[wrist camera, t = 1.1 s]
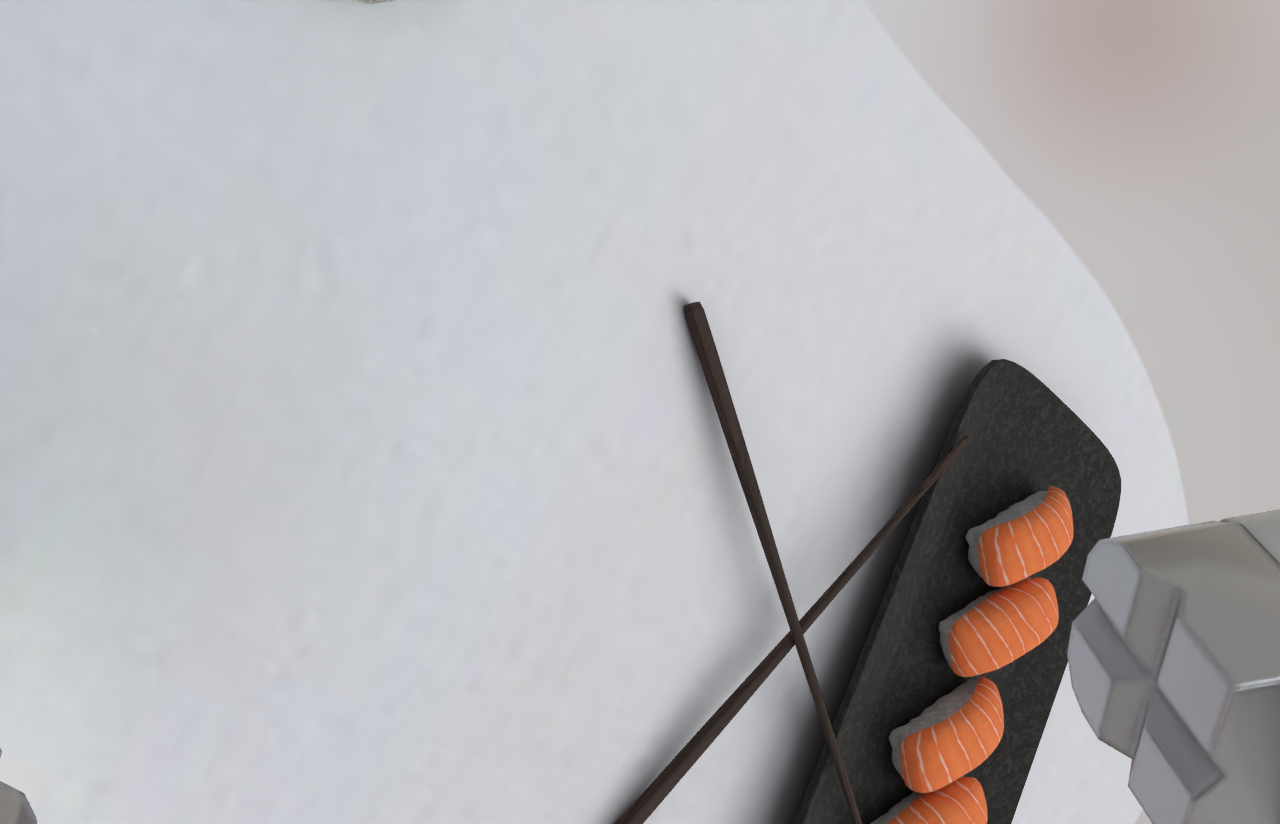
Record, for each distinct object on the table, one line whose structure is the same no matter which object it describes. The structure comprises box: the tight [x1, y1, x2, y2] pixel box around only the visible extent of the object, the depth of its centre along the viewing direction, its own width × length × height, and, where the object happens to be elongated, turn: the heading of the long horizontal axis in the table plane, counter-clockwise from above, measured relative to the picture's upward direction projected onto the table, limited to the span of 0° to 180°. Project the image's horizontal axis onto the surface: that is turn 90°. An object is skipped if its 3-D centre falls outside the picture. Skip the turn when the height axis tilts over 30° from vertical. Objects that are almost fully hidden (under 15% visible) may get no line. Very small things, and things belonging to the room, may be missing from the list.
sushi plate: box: [616, 302, 1121, 824], centre depth 52 cm, size 29×30×4 cm
